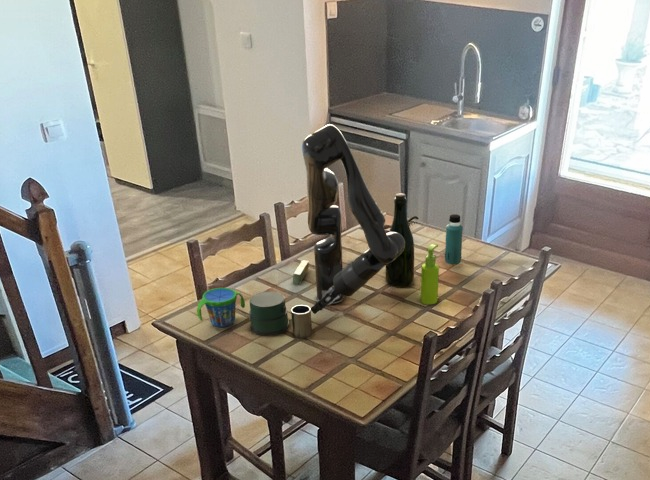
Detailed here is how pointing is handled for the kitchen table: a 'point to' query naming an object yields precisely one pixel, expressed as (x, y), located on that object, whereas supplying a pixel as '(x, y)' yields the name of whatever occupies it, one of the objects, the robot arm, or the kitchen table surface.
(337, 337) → the kitchen table surface
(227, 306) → the snack cup
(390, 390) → the kitchen table surface
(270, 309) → the green lidded canister
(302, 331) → the tumbler
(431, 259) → the soap dispenser
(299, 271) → the medication box
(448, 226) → the beverage bottle
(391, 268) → the wine bottle
